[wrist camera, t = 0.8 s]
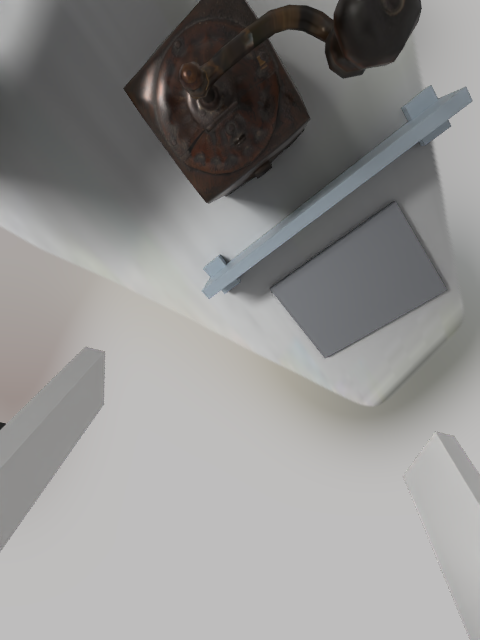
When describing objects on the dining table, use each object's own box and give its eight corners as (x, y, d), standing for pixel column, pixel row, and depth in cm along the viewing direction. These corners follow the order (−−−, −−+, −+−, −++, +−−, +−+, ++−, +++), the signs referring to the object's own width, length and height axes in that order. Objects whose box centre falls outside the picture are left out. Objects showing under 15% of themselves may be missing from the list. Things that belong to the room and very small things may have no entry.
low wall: (203, 267, 38) (193, 281, 34) (429, 84, 28) (458, 69, 24) (224, 292, 39) (217, 308, 35) (449, 124, 29) (480, 117, 25)
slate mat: (270, 287, 38) (270, 289, 38) (394, 201, 32) (396, 201, 32) (324, 355, 42) (325, 358, 41) (444, 288, 36) (447, 289, 35)
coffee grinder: (227, 204, 34) (182, 236, 18) (159, 110, 31) (34, 50, 15) (356, 99, 29) (452, 15, 13) (291, -28, 26) (311, -346, 10)
